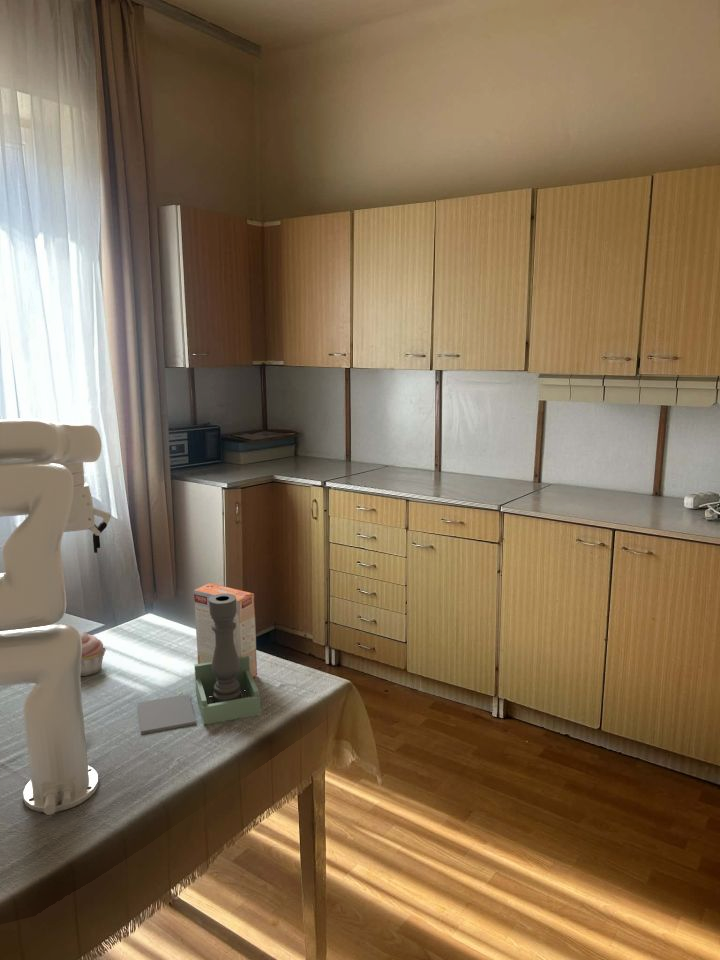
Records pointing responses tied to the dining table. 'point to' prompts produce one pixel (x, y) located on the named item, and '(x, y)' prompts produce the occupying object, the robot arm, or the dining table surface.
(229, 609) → the candle holder
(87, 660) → the cupcake
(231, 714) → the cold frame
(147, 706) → the slate mat
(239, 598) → the cracker box
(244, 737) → the dining table surface
